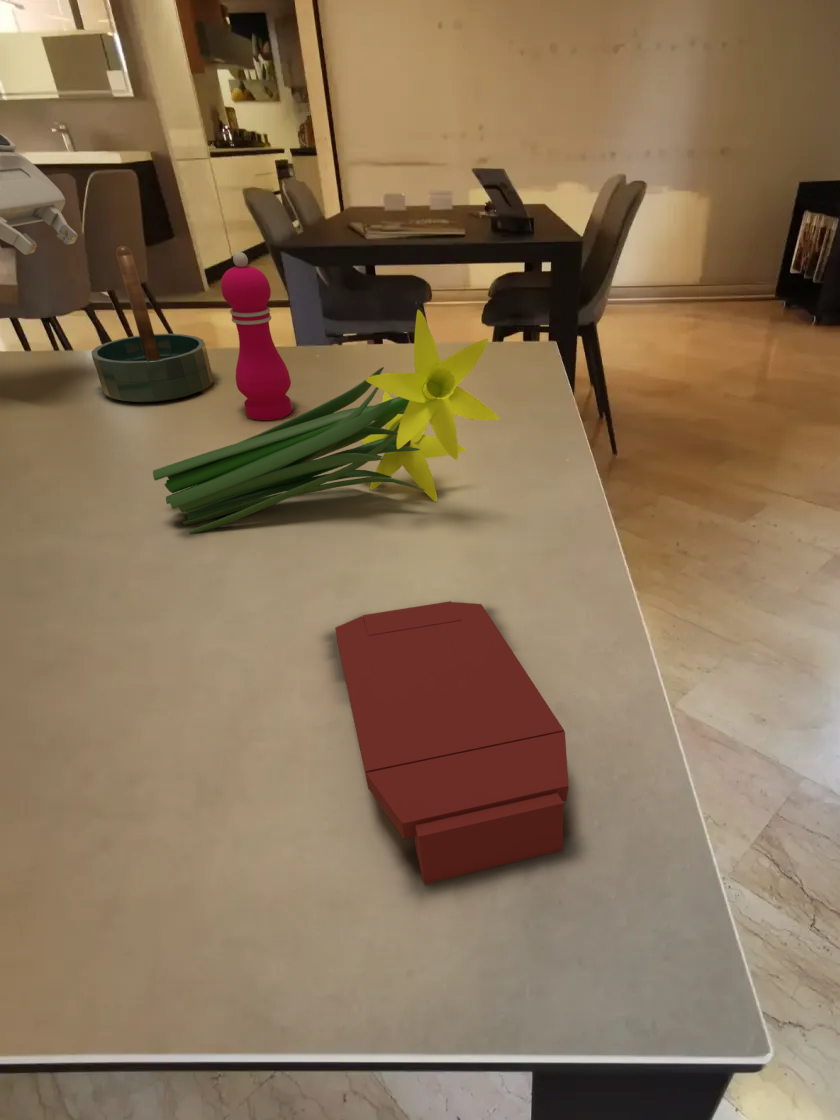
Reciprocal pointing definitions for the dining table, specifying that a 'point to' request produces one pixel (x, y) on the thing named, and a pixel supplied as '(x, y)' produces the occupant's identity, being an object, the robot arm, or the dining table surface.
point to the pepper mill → (256, 343)
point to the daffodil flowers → (337, 441)
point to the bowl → (153, 368)
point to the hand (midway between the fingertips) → (53, 245)
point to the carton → (454, 737)
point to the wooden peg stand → (137, 302)
